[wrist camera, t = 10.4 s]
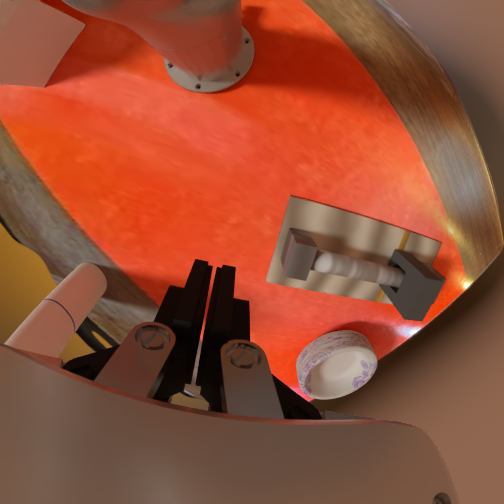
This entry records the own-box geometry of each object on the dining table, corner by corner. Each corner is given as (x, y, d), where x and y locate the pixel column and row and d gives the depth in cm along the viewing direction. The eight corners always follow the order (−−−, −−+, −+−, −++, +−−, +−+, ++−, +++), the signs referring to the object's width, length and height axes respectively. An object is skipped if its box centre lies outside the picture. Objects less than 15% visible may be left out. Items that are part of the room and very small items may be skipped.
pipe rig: (265, 278, 44) (269, 303, 38) (290, 195, 39) (298, 206, 32) (409, 304, 47) (425, 324, 41) (438, 241, 42) (460, 256, 35)
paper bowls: (360, 365, 54) (371, 391, 46) (294, 378, 54) (299, 406, 47) (369, 312, 47) (385, 339, 40) (291, 326, 48) (298, 356, 41)
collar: (378, 285, 43) (404, 319, 34) (394, 249, 41) (425, 277, 31) (395, 288, 44) (422, 321, 35) (411, 253, 41) (443, 281, 32)
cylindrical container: (110, 272, 43) (33, 373, 20) (103, 301, 46) (40, 400, 23) (78, 255, 42) (-8, 341, 19) (74, 285, 44) (2, 372, 21)
